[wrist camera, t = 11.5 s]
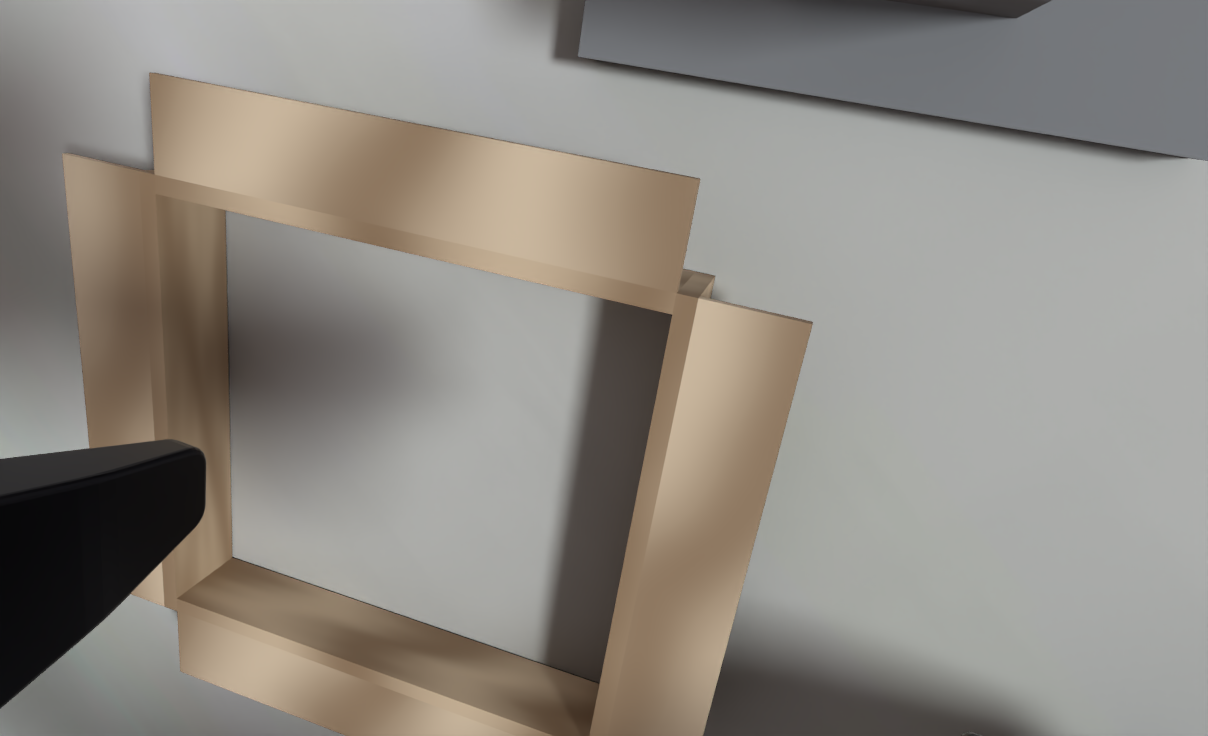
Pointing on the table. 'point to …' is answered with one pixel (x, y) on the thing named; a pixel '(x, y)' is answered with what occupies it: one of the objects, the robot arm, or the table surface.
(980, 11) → the block
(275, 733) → the table surface
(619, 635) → the wooden square frame
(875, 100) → the mat
